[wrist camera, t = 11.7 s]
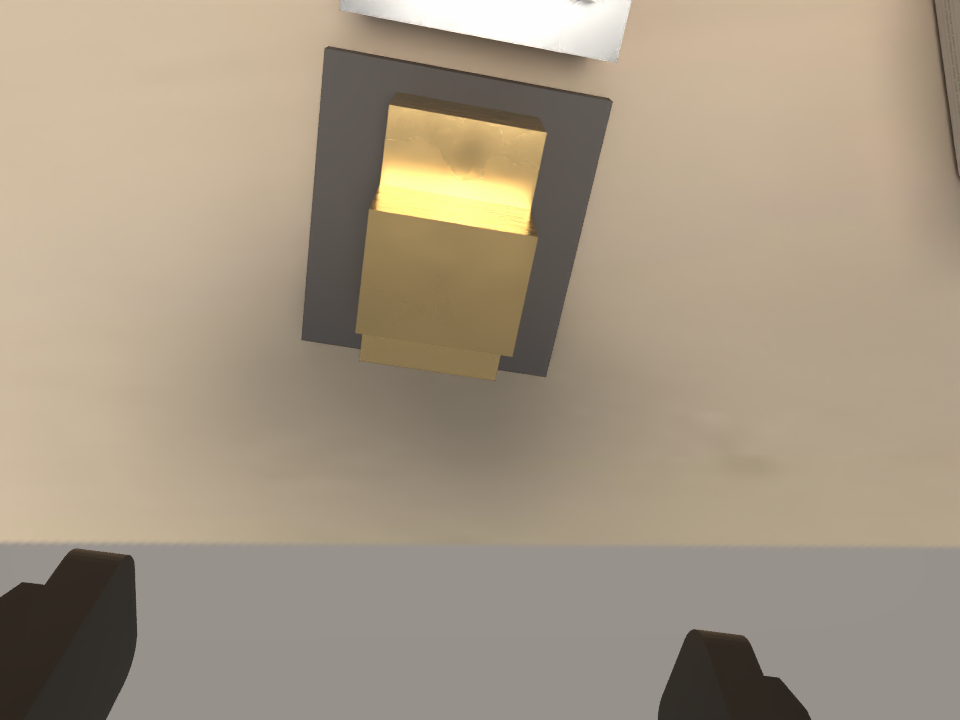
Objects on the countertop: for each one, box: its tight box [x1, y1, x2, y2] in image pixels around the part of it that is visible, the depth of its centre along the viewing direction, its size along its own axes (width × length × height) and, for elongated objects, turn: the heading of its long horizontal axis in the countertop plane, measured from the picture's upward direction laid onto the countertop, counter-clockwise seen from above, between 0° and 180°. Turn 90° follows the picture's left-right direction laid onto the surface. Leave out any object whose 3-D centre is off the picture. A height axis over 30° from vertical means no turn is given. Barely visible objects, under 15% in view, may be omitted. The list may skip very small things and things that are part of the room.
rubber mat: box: [302, 46, 613, 377], centre depth 29 cm, size 10×11×1 cm
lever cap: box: [355, 92, 547, 381], centre depth 26 cm, size 5×9×6 cm, turn 170°
